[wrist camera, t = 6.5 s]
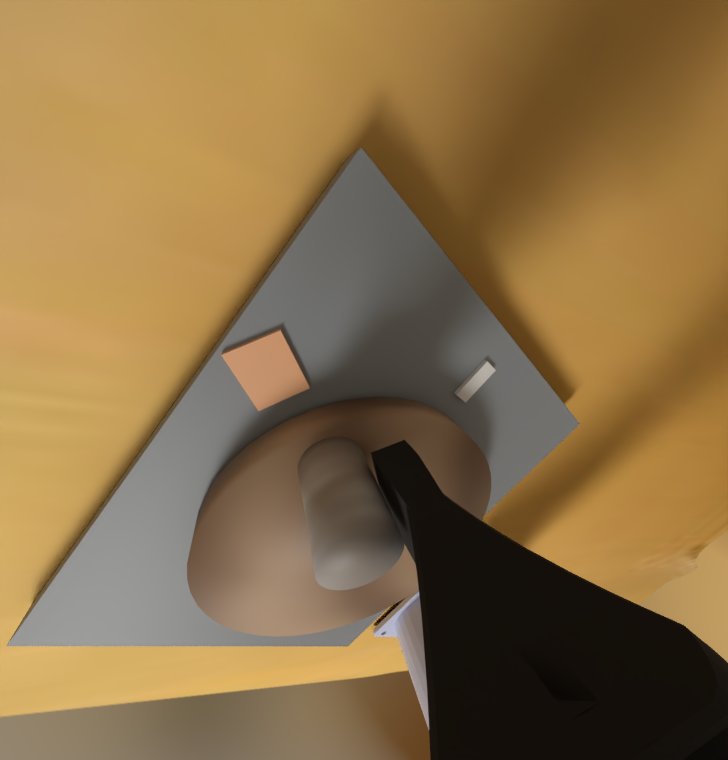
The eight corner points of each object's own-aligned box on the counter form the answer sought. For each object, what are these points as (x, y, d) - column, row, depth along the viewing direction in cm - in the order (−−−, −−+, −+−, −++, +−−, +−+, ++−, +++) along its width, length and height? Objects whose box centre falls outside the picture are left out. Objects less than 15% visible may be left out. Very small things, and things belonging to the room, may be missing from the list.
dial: (472, 352, 12) (591, 420, 8) (472, 535, 19) (534, 624, 15) (114, 479, 10) (-2, 680, 5) (267, 635, 17) (270, 773, 13)
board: (558, 410, 19) (582, 425, 18) (342, 623, 23) (348, 649, 21) (346, 158, 9) (363, 145, 8) (30, 605, 13) (2, 652, 12)
